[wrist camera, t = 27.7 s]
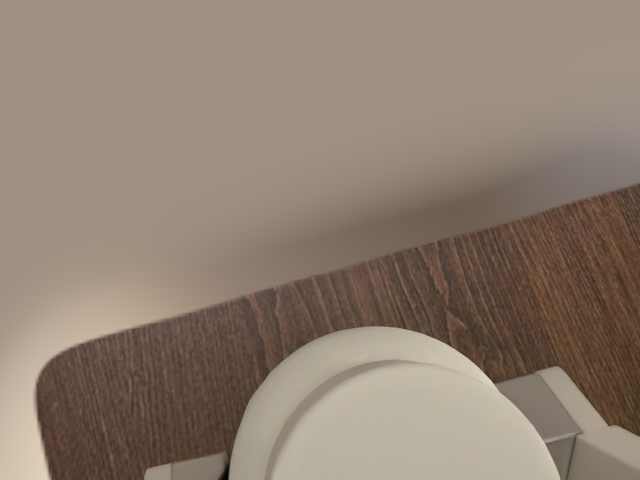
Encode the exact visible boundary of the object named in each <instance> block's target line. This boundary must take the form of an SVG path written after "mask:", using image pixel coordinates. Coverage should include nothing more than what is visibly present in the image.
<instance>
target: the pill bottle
mask: <svg viewBox="0 0 640 480" xmlns="http://www.w3.org/2000/svg"><path fill="white" fill-rule="evenodd" d="M229 480H561V479H560V476H559V473H558V471H557V468H556V466H555V464H554V461H553V459H552V457H551V455H550V453H549V451H548V449H547V447H546V445H545V443H544V442H543V440H542V438H541V437H540V435H539V434H538V432H537V431H536V429H535V428H534V426H533V425H532V424H531V423H530V422H529V420H528V419H527V418H526V417H525V416H524V414H523V413H522V412H521V411H520V410H519V409H518V408H517V407H516V406H515V405H514V404H513V403H512V402H511V401H510V400H509V399H507V398H506V397H505V396H504V395H502V394H501V393H500V392H499V390H498V389H497V388H496V386H495V385H494V384H493V383H492V381H491V380H490V379H489V378H488V377H487V376H486V375H485V374H484V373H483V372H482V371H481V370H480V369H479V368H478V367H477V366H476V365H475V364H474V363H473V362H471V361H470V360H469V359H468V358H466V357H465V356H464V355H462V354H461V353H459V352H458V351H456V350H455V349H453V348H452V347H450V346H448V345H446V344H444V343H442V342H441V341H439V340H436V339H434V338H432V337H429V336H427V335H424V334H421V333H418V332H414V331H411V330H406V329H401V328H394V327H383V326H372V327H360V328H352V329H347V330H341V331H337V332H333V333H330V334H327V335H325V336H323V337H320V338H318V339H315V340H313V341H311V342H309V343H307V344H306V345H304V346H302V347H301V348H299V349H298V350H296V351H295V352H293V353H292V354H291V355H290V356H288V357H287V358H286V359H285V360H283V361H282V362H281V363H280V364H279V365H278V366H277V367H276V368H275V369H273V370H272V371H271V372H270V374H269V375H268V376H267V378H266V379H265V380H264V381H263V383H262V384H261V385H260V386H259V388H258V389H257V391H256V392H255V393H254V395H253V396H252V398H251V399H250V401H249V403H248V405H247V408H246V410H245V413H244V416H243V418H242V421H241V424H240V427H239V429H238V432H237V436H236V439H235V443H234V447H233V451H232V456H231V461H230V471H229Z"/></svg>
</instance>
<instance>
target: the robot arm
mask: <svg viewBox="0 0 640 480" xmlns="http://www.w3.org/2000/svg"><path fill="white" fill-rule="evenodd" d="M492 383H493V384H494V385H495V386H496V388H497V389H498V390H499V392H500V393H501V394H502V395H504V396H505V397H506V398H507V399H509V400H510V401H511V402H512V403H513V404H514V405H515V406H516V407H517V408H518V409H519V410H520V411H521V412H522V413H523V414H524V416H525V417H526V418H527V419H528V420H529V422H530V423H531V424H532V425H533V426H534V428H535V429H536V431H537V432H538V434H539V435H540V437H541V438H542V440H543V442H544V443H545V445H546V447H547V449H548V451H549V453H550V455H551V457H552V459H553V461H554V464H555V466H556V468H557V471H558V473H559V476H560V479H561V480H640V437H639V436H637V435H635V434H633V433H631V432H629V431H627V430H625V429H623V428H621V427H619V426H617V425H613V426H608V425H607V424H606V423H605V421H604V420H603V419H602V418H601V416H600V415H599V414H598V413H597V411H596V410H595V409H594V408H593V406H592V405H591V404H590V403H589V401H588V400H587V399H586V398H585V397H584V395H583V394H582V393H581V392H580V390H579V389H578V388H577V387H576V385H575V384H574V383H573V382H572V380H571V379H570V378H569V377H568V376H567V374H566V373H565V372H564V371H563V369H561V368H559V367H558V366H555V367H551V368H547V369H543V370H539V371H535V372H529V373H525V374H522V375H518V376H514V377H510V378H507V379H503V380H499V381H495V382H492ZM229 471H230V466H229V460H228V457H227V454H226V452H225V451H222V452H217V453H213V454H208V455H204V456H199V457H195V458H190V459H186V460H182V461H177V462H173V463H169V464H164V465H160V466H156V467H152V468H148V469H147V470H146V473H145V476H144V480H229Z"/></svg>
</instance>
